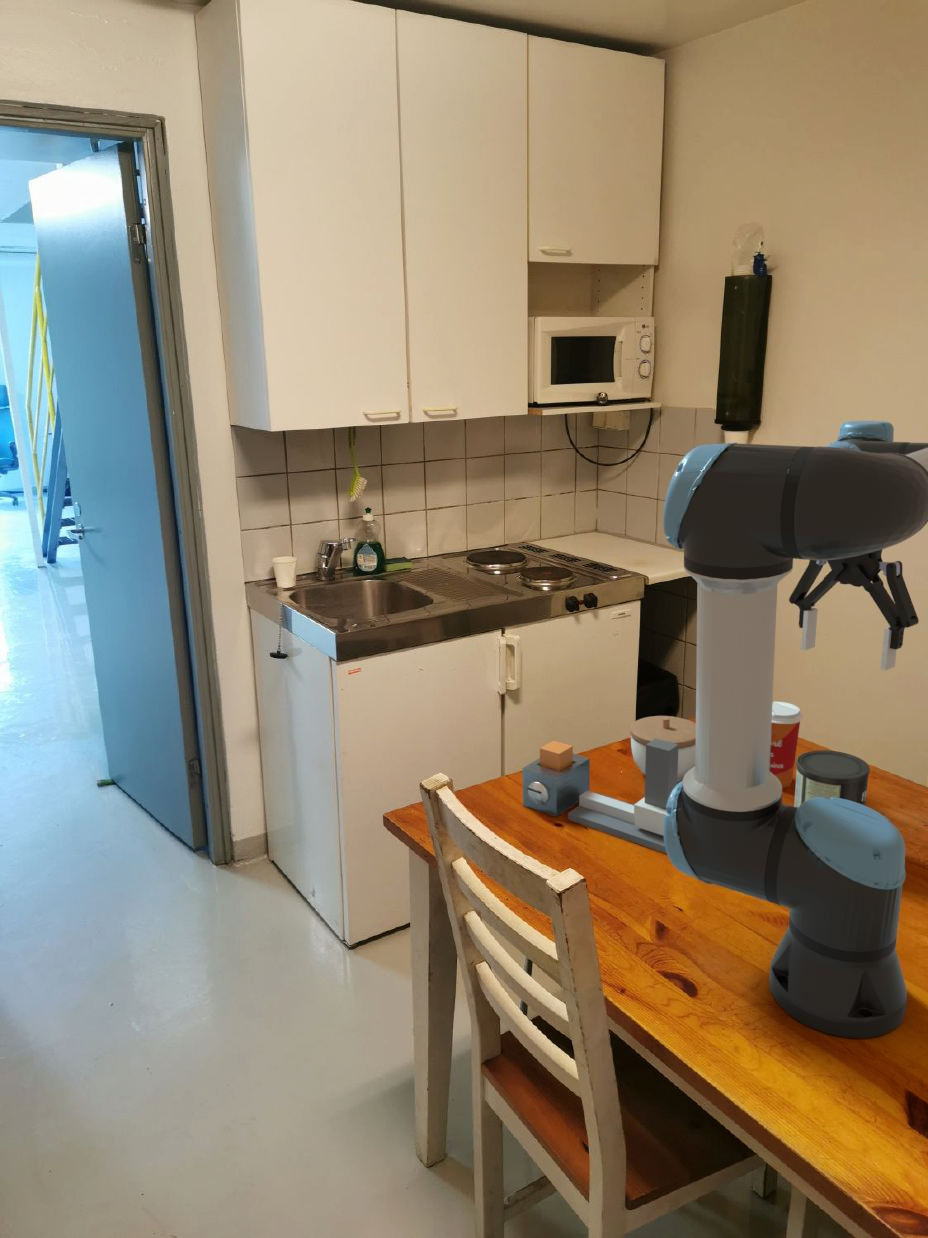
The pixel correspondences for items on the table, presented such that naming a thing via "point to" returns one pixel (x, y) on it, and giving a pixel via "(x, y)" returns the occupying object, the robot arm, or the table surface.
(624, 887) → the table surface
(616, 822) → the rail bed
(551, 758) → the button
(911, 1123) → the table surface
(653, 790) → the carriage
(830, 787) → the coffee can
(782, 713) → the paper cup
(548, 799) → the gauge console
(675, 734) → the lidded bowl
